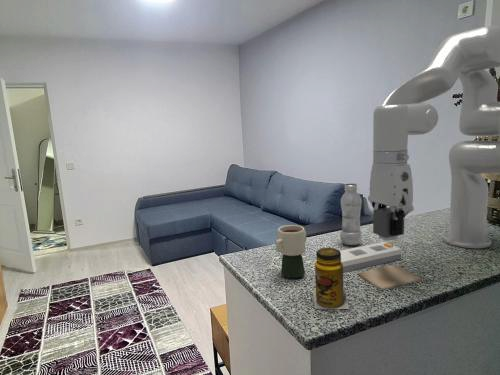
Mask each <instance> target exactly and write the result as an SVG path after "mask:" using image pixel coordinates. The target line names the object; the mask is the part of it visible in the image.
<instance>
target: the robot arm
mask: <svg viewBox="0 0 500 375" xmlns="http://www.w3.org/2000/svg"><path fill="white" fill-rule="evenodd" d="M495 68H500V26H497V25H485V26H481V27H477V28H474V29H470V30H466V31H463V32H458V33H454V34H451V35H450V36H448V37H446V38H445V39H444V40H443V41H441V43H440V44H439V45H438V47H437V49H435V51H434V53H433V54H432V56H431V57H430V58H429V60H428V61H427V63H426V64H425V66H424V67H423V68H422V70H421V71H420V72H418V73H417V74H415V75H413V76H412V77H411V78H409V79H408V80H406V81H405V82H404V83H402V84H400V85H399V86H398V87H395V89H394V90H393V91H391V93H389V95H387V97H386V98H385V100H384V101H383V103H382V104H381V105H379V106H377V107H376V108H374V111H373V119H372V120H373V122H372V123H373V127H372V128H373V133H372V134H373V135H372V140H373V141H372V142H373V143H372V144H373V145H372V148H373V150H372V165H371V170H370V178H369V179H370V180H369V196H368V197H367V200H368V202H370V204H371V206H372V208H373V210H374V209H381V208H388V207H391V213H392V219H390V235H391V236H395V235H398V236H401V235H400V234H402V229H403V219H404V220H405V218H406V216H408V215H409V213H412V212H414V210H415V207H414V206H413V202H414V185H413V176H412V175H413V174H412V170H411V164H408V160H409V159H410V156H409V153H408V151H409V150H408V149H409V148H408V145H409V144H408V143H409V138H408V137H409V136H419V135H425V134H428V133H430V132H432V131H433V130H434V129H435V128H436V126H437V125H438V122H439V112H438V110H437V109H436V108H435V106H434V105H432V104H431V103H428V101H430V100H432V99H435V98H437V97H439V96H441V95H443V94H445V93H447V92H449V91H450V90H451V89H452V88H453V87H454V85H455V83H457V80H458V79H459V81H460V82H461V85H462V100H461V107H460V113H459V114H460V115H459V123H458V124H459V125H458V127H459V131H460V133H461V134H463V135H465V136H470V137H500V101H498V92H499V91H498V90H499V84H498V82H497V80H496V79H495V77H494V76H493V75H492V74H491V73H490V72H489V71H487V70H488V69H495ZM426 102H427V103H426ZM448 152H449V153H448V161H449V166H450V168H449V169H450V174H451V175H450V177H451V178H450V180H451V183H450V184H451V185H450V186H451V187H450V207H449V228H448V229H449V230H448V233H444V234H443V236H442V237H443V238H442V239H443V241H444V242H446V243H447V244H449V245H452V246H454V247H459V248H465V249H487V248H489V247H490V246H491V245H492V240H491V239H490V238H489V237H488V235H489V234H493V233H495V231H496V229H495V227H494V226H487V217H488V203H489V202H488V201H489V191H490V190H489V186H488V182H487V180H486V179H485V177H484V175H483V174H486V175H500V140H464V141H458V142H456V143H455V144H453V145H452V146H451V148H450V149H449V151H448ZM396 209H399V211H398V212H397V210H396Z"/></svg>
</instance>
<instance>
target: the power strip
mask: <svg viewBox="0 0 500 375" xmlns="http://www.w3.org/2000/svg"><path fill="white" fill-rule="evenodd" d="M339 251H340V253H341V262H342V264H343V273H347V272H351V271H354V270H359V269H364V268H369V267H372V266H377V265H383V264H386V263H390V262H395V261H399V260H402V248H400V247H397V246H395V245H393V244H392V243H388V242H387V241H381V242H378V243H372V244H367V245H361V246H356V247H352V248H348V249H343V250H339Z"/></svg>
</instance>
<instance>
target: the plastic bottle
mask: <svg viewBox="0 0 500 375" xmlns="http://www.w3.org/2000/svg"><path fill="white" fill-rule="evenodd" d="M362 202H363V200H362V197H361V196H360V194H359V193H358V184H357V183H345V184H344V193H343V195H342V196H341V198H340V208H341V217H342V223H341V224H342V225H341V231H340V241H341V243H342V244H343V245H346V246H358V245H360V243H362V231H361V221H360V220H361V210H362V205H363V204H362Z"/></svg>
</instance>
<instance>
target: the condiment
mask: <svg viewBox="0 0 500 375" xmlns="http://www.w3.org/2000/svg"><path fill="white" fill-rule="evenodd" d="M340 251H341V250H339V249H337V248H333V247H323V248H320V249H318V250H317V251H316V258H315V259H316V261H315V264H314V269H315V270H314V273H315V275H314V276H315V289H313V290H312V294H313V303H314V304H313V305H314V309H316V310H350V305H349V303H348V299H347V295H346V293H345V289H344V272H343V264H342V262H341V253H340Z"/></svg>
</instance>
